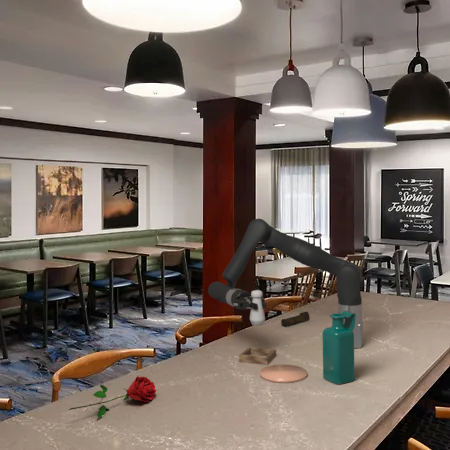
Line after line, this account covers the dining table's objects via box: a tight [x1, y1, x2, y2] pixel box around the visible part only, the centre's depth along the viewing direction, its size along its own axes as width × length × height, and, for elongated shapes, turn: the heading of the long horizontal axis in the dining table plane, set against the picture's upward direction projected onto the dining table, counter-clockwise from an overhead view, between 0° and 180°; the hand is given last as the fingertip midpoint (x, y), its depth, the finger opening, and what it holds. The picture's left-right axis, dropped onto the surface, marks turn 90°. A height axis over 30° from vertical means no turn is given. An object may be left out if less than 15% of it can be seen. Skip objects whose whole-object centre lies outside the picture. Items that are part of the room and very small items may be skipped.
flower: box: [68, 375, 157, 419], centre depth 152 cm, size 9×9×30 cm
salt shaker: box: [249, 289, 266, 327], centre depth 195 cm, size 6×6×13 cm
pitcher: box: [321, 311, 356, 385], centre depth 172 cm, size 10×8×22 cm
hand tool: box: [280, 311, 310, 328], centre depth 249 cm, size 19×4×5 cm, turn 130°
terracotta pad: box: [259, 363, 308, 384], centre depth 178 cm, size 16×16×1 cm
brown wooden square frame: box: [238, 346, 277, 366], centre depth 196 cm, size 11×11×2 cm
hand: (261, 306), depth 192 cm, fingers closed on salt shaker, 3 cm apart
